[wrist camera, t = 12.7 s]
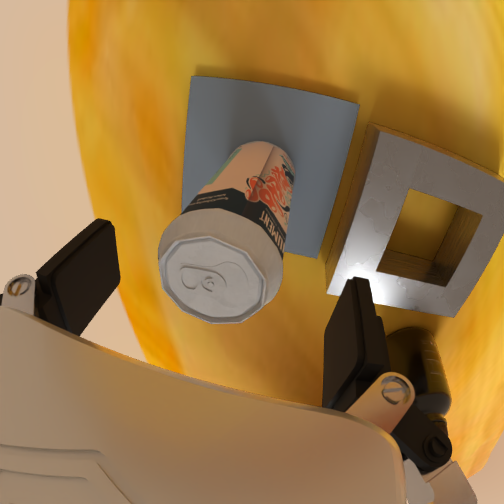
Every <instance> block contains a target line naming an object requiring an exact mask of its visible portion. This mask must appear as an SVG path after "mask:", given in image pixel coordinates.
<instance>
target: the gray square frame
mask: <svg viewBox="0 0 504 504" xmlns="http://www.w3.org/2000/svg"><path fill="white" fill-rule="evenodd" d="M409 188H411V189H414V190H417V191H420V192H423V193H426V194H429V195H431V196H434V197H437V198H440V199H443V200H445V201H448V202H451V203H454V204H456V205H459V207H458V209H457V211H456V214H455V216H454V218H453V221H452V223H451V225H450V227H449V230H448V232H447V234H446V236H445V238H444V240H443V242H442V244H441V247H440V249H439V251H438V253H437V255H436V257H435V259H434V260H433V261H430V260H426V259H422V258H418V257H415V256H411V255H407V254H403V253H399V252H395V251H391V250H387V249H385V248H386V246H387V244H388V241H389V239H390V237H391V234H392V232H393V229H394V227H395V224H396V222H397V219H398V217H399V214H400V211H401V209H402V206H403V204H404V201H405V198H406V195H407V193H408V190H409ZM503 234H504V178H502V177H501V176H500V175H498V174H496V173H494V172H492V171H490V170H489V169H487V168H485V167H483V166H481V165H478V164H476V163H474V162H472V161H470V160H468V159H466V158H464V157H461V156H459V155H457V154H455V153H452V152H450V151H448V150H446V149H443V148H441V147H438V146H436V145H433V144H431V143H428V142H426V141H423V140H421V139H418V138H415V137H413V136H410V135H407V134H404V133H402V132H399V131H396V130H393V129H390V128H387V127H384V126H381V125H377V124H374V123H371V122H368V126H367V130H366V134H365V138H364V141H363V145H362V149H361V153H360V156H359V160H358V164H357V167H356V171H355V174H354V178H353V181H352V184H351V188H350V191H349V195H348V198H347V201H346V204H345V208H344V211H343V214H342V217H341V220H340V223H339V226H338V230H337V233H336V236H335V239H334V242H333V245H332V248H331V250H330V253H329V256H328V259H327V262H326V265H325V270H326V293H327V294H332V295H337V296H340V295H341V293H342V290H343V288H344V286H345V283H346V281H347V279H352V278H353V277H354V276H357V277H362V278H366V279H369V282H370V287H371V291H372V296H373V301H374V303H377V304H382V305H387V306H393V307H398V308H403V309H409V310H414V311H419V312H425V313H430V314H436V315H442V316H447V317H453V318H454V317H455V315H456V314H457V313H458V311H459V310H460V308H461V307H462V305H463V304H464V302H465V301H466V299H467V298H468V296H469V294H470V293H471V291H472V290H473V288H474V286H475V285H476V283H477V282H478V280H479V278H480V277H481V275H482V273H483V271H484V270H485V268H486V266H487V264H488V263H489V261H490V259H491V257H492V255H493V253H494V252H495V250H496V248H497V246H498V244H499V242H500V240H501V238H502V236H503Z"/></svg>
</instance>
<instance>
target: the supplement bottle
mask: <svg viewBox="0 0 504 504" xmlns="http://www.w3.org/2000/svg"><path fill="white" fill-rule="evenodd" d="M386 342H387V348H388V354H389V360H390V366H391V372H395V373H399V374H401V375H403V376H404V377H406V378H407V379H408V380H409V381H410V382H411V384H412V386H413V388H414V392H415V398H414V401H413V404H414V405H415V406H416V407H417V408H418V409H419V410H420V411H421V412H422V413H423V414H424V415H426V416H427V417H428V418H429V419H430V420H431V421H432V422H433V423H434V424H435V425H436V426H437V427H438V428H440V429H441V430H442V431H443V432H444V433H445V434H446V435H447V436H448V430H447V421H446V419H445V418H444V416H445V415H446V414H447V412H448V411H449V409H450V406H451V402H452V399H451V393H450V389H449V386H448V382H447V378H446V375H445V371H444V368H443V364H442V361H441V357H440V354H439V351H438V348H437V345H436V342H435V339H434V337H433V335H432V334H431V333H430V332H429V331H428V330H426V329H423V328H417V327H412V328H406V329H402V330H399V331H397V332H395V333H393V334H391V335H390V336H388V337H387V338H386Z"/></svg>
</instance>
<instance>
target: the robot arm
mask: <svg viewBox="0 0 504 504" xmlns="http://www.w3.org/2000/svg"><path fill="white" fill-rule="evenodd" d="M36 274H37V277H38V278H37V279H36V280H34V278H33V277H32V276H30V275H27V274H24V275H18V276H16V277H14V278H12V279H11V280H10V281H9V282H8V283H7V284H6V285H5V288H4V293H3V294H0V504H406V498H407V500H408V503H409V504H477V498H476V495H475V493H474V491H473V490H472V488H471V486H470V484H469V482H468V480H467V479H466V477H465V475H464V473H463V472H462V470H461V468H460V467H459V465H458V463H457V461H454V462H452V460H451V458H450V457H451V455H452V444H451V442H450V439H449V438H448V436H447V435H446V434H445V433H444V432H443V431H442V430H441V429H440V428H438V427H437V426H436V425H435V424H434V423H433V422H432V421H431V420H430V419H429V418H428V417H427V416H426V415H424V414H423V413H422V412H421V411H420V410H419V409H418V408H417V407H416V406H415V405H414V404H413V401H414V398H415V392H414V388H413V386H412V384H411V382H410V381H409V380H408V379H407V378H406V377H404V376H403V375H401V374H399V373H395V372H391V366H390V360H389V354H388V348H387V342H386V337H385V332H384V326H383V321H382V318H381V317H380V316H376V311H375V306H374V301H373V296H372V291H371V287H370V282H369V279H366V278H362V277H357V276H354V277H353V278H352V279H347V281H346V283H345V286H344V288H343V290H342V293H341V295H340V298H339V300H338V302H337V304H336V307H335V309H334V311H333V314H332V316H331V318H330V320H329V322H328V325H327V327H326V330H325V334H324V373H323V399H322V407H318V406H313V405H308V404H303V403H297V402H292V401H287V400H282V399H277V398H272V397H268V396H263V395H259V394H254V393H250V392H245V391H241V390H237V389H233V388H229V387H225V386H221V385H217V384H213V383H210V382H206V381H202V380H199V379H196V378H192V377H189V376H185V375H182V374H179V373H176V372H172V371H169V370H166V369H163V368H160V367H157V366H154V365H151V364H148V363H145V362H142V361H140V360H137V359H134V358H131V357H129V356H126V355H123V354H121V353H118V352H116V351H113V350H110V349H108V348H105V347H103V346H100V345H98V344H95V343H93V342H91V341H88V340H86V339H84V338H81V337H79V336H80V335H81V333H82V332H83V331H84V329H85V328H86V327H87V325H88V324H89V322H90V321H91V320H92V318H93V317H94V316H95V315H96V313H97V312H98V311H99V309H100V308H101V307H102V305H103V304H104V303H105V301H106V300H107V299H108V298H109V296H110V295H111V294H112V292H113V291H114V290H115V289H116V287H117V286H118V285H119V283H120V270H119V263H118V255H117V246H116V237H115V228H114V226H113V225H112V223H111V222H110V221H108V220H104V219H99V218H98V219H96V220H95V221H94V222H92V223H91V224H90V225H89V226H87V227H86V228H85V229H84V230H83V231H81V232H80V233H79V234H78V235H77V236H75V237H74V238H73V239H72V240H71V241H70V242H69V243H67V244H66V245H65V246H64V247H63V248H62V249H61V250H59V251H58V252H57V253H56V254H55V255H54V256H53V257H52V258H51V259H50V260H48V262H46V263H45V264H44V265H43V266H42V267H41V268H40V269H39V270H38V271H37V272H36Z"/></svg>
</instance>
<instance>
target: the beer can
mask: <svg viewBox="0 0 504 504" xmlns="http://www.w3.org/2000/svg"><path fill="white" fill-rule="evenodd" d="M294 183H295V168H294V165H293V162H292V161H291V159H290V157H289V156H288V154H287V153H286V152H285V151H284V150H282V149H281V148H280V147H278V146H276V145H274V144H272V143H269V142H264V141H253V142H248V143H246V144H243V145H241V146H239V147H238V148H237V149H236V150H235V151H234V152H233V153H232V154H231V155H230V157H229V158H228V160H227V161H226V162H225V163H224V164H223V165H222V167H221V168H220V169H219V170H218V171H217V172H216V173H215V175H214V176H213V177H212V178H211V179H210V180H209V181H208V183H207V184H206V185H205V186H204V187H203V188H202V190H201V191H200V192H199V193H198V194H197V195H196V197H195V198H194V199H193V200H192V201H191V203H190V204H189V205H188V206H187V207H186V209H185V210H184V211H183V212H182V213H181V215H180V216H178V217H177V218H176V219H175V220H173V221H172V222H171V224H170V225H169V226H168V227H167V228H166V229H165V231H164V232H163V234H162V237H161V240H160V243H159V247H158V260H159V262H158V263H159V271H160V277H161V284H162V289H163V290H164V291H165V292H166V294H167V295H168V296H169V297H170V298H171V299H172V300H173V302H174V303H175V304H176V305H177V306H178V307H179V308H180V309H181V311H183V312H185V313H187V314H189V315H192V316H194V317H196V318H198V319H201V320H203V321H205V322H208V323H210V324H230V323H242V322H244V321H245V320H246V319H248V318H249V317H251V316H252V315H254V314H255V313H256V312H258V311H259V310H261V309H262V308H263V306H265V305H266V304H267V303H269V302H270V301H271V300H272V299H273V298H274V297H275V295H276V294H277V292H278V291H279V288H280V285H281V282H282V276H283V261H282V260H283V253H284V247H285V240H286V233H287V226H288V219H289V212H290V205H291V197H292V190H293V187H294Z"/></svg>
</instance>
